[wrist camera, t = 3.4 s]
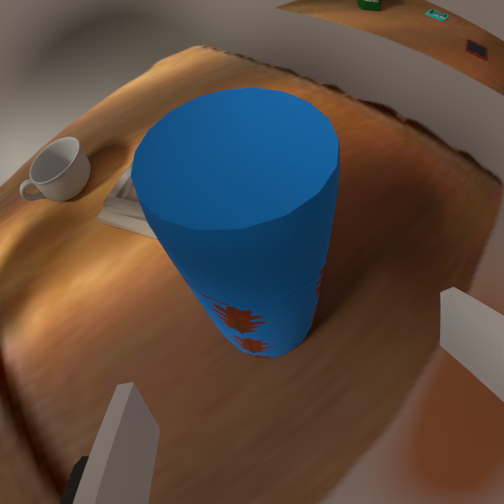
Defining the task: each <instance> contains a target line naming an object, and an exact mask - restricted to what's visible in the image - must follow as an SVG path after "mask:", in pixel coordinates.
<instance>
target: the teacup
mask: <svg viewBox="0 0 504 504" xmlns="http://www.w3.org/2000/svg"><path fill="white" fill-rule="evenodd" d="M90 172H91V167H90V163H89V160H88V158H87V156H86V154H85V152H84V150H83V149H82V147H81V145H80V142H79V141H78V139H76V138H74V137H64V138H61V139H58V140H56V141H54V142H52V143H51V144H49V145H48V146H47V147H45V148H44V149H43V150H42V151H41V152H40V153H39V154H38V156H37V157H36V158H35V160H34V161H33V163H32V166H31V168H30V179H28V180H25V181H24V182H23V183H22V184H21V186H20V194H21V196H22V197H23V198H24V199H25V200H28V201H33V200H38V199H41V198H43V199H47V198H48V199H50V200H52V201H55V202H62V201H66V200H69V199H71V198H73V197H75V196H76V195H78V194H79V193H80V192H81V191H82V190H83V188H84V187H85V185H86V183H87V181H88V179H89V177H90ZM28 186H34V187H35V188H39V190H40V191H41V192H39V193H36V194H27V193H26V192H25V189H26V188H27V187H28Z"/></svg>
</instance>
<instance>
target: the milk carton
mask: <svg viewBox="0 0 504 504" xmlns="http://www.w3.org/2000/svg"><path fill="white" fill-rule="evenodd" d="M358 5H359V6H360V7H361V9H365V10H374V11H380V7H381V0H358Z"/></svg>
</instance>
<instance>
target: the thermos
mask: <svg viewBox="0 0 504 504" xmlns="http://www.w3.org/2000/svg"><path fill="white" fill-rule="evenodd" d="M339 173H340V151H339V139H338V137H337V135H336V133H335V131H334V129H333V127H332V125H331V123H330V120H329V118H327V117H326V116H325V115H324V114H323V113H322V112H320V111H319V110H318V109H317V108H316V107H314V106H313V105H312V104H311V103H310V102H308V101H305V100H303V99H301V98H298V97H296V96H293V95H291V94H288V93H286V92H282V91H276V90H269V89H261V88H243V89H230V90H223V91H219V92H215V93H212V94H208V95H205V96H201V97H198V98H195V99H193V100H191V101H189V102H187V103H185V104H184V105H182V106H180V107H178V108H176V109H174V110H172V111H170V112H169V113H168V114H167V115H166V116H164V117H163V118H162V119H161V120H160V121H159V122H157V123H156V124H155V125H154V126H153V127H152V128H151V129H149V131H148V132H147V134H146V135H145V137H144V138H143V140H142V141H141V143H140V145H139V146H138V148H137V149H136V151H135V154H134V159H133V165H132V170H131V179H132V182H133V185H134V188H135V191H136V194H137V197H138V200H139V202H140V205H141V207H142V210H143V213H144V215H145V218H146V220H147V223H148V224H149V226H150V228H151V229H152V231H153V232H154V234H155V236H156V237H157V239H158V240H159V242H160V243H161V245H162V246H163V248H164V249H165V251H166V253H167V254H168V256H169V257H170V259H171V260H172V262H173V263H174V265H175V266H176V268H177V269H178V271H179V272H180V274H181V275H182V276H183V278H184V280H185V281H186V283H187V284H188V285H189V287H190V288H191V290H192V291H193V293H194V294H195V296H196V297H197V299H198V300H199V301H200V303H201V304H202V306H203V307H204V309H205V310H206V311H207V313H208V314H209V316H210V317H211V318H212V320H213V321H214V323H215V324H216V325H217V327H218V328H219V330H220V331H221V332H222V334H223V335H224V336H226V337H227V338H228V339H229V340H230V341H231V342H232V343H233V344H234V345H235V346H236V347H237V348H238V349H239V350H241V351H242V352H244V353H247V354H249V355H252V356H254V357H261V358H274V357H277V356H280V355H283V354H286V353H289V352H290V351H292V350H293V349H294V348H295V347H297V346H298V345H299V344H300V343H302V341H303V340H304V338H305V336H306V335H307V333H308V331H309V330H310V328H311V325H312V323H313V321H314V318H315V313H316V308H317V304H318V299H319V294H320V289H321V285H322V280H323V274H324V269H325V264H326V259H327V253H328V248H329V243H330V237H331V231H332V225H333V219H334V213H335V207H336V201H337V194H338V185H339Z"/></svg>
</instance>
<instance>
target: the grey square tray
mask: <svg viewBox="0 0 504 504" xmlns="http://www.w3.org/2000/svg"><path fill="white" fill-rule="evenodd" d="M132 165H133V162H132V163H131V164H130V166H129V167H128V168H127V170H126V171H125V172H124V174H123V175H122V177H121V178H120V179H119V181H118V182H117V184H116V185H115V186H114V188H113V189H112V191H111V192H110V194H109V195H108V196H107V198H106V199H105V201H104V202H103V204H104V205H105V206H104V207H103V209H102V210H101V212H100V213H99V215H98V216H97V218H98V219H99V220H100V222H101V223H104V224H107V225H111V226H114V227H117V228H120V229H124V230H127V231H130V232H134V233H137V234H140V235H143V236H147V237H150V238H153V239H157V237H156V236H155V234H154V232H153V231H152V229H151V228H150V226H149V224H148V223H147V220H146V218H145V215H144V213H143V210H142V207H141V205H140V202H139V200H138V197H137V194H136V191H135V188H134V185H133V182H132V179H131V170H132ZM157 240H158V239H157Z"/></svg>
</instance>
